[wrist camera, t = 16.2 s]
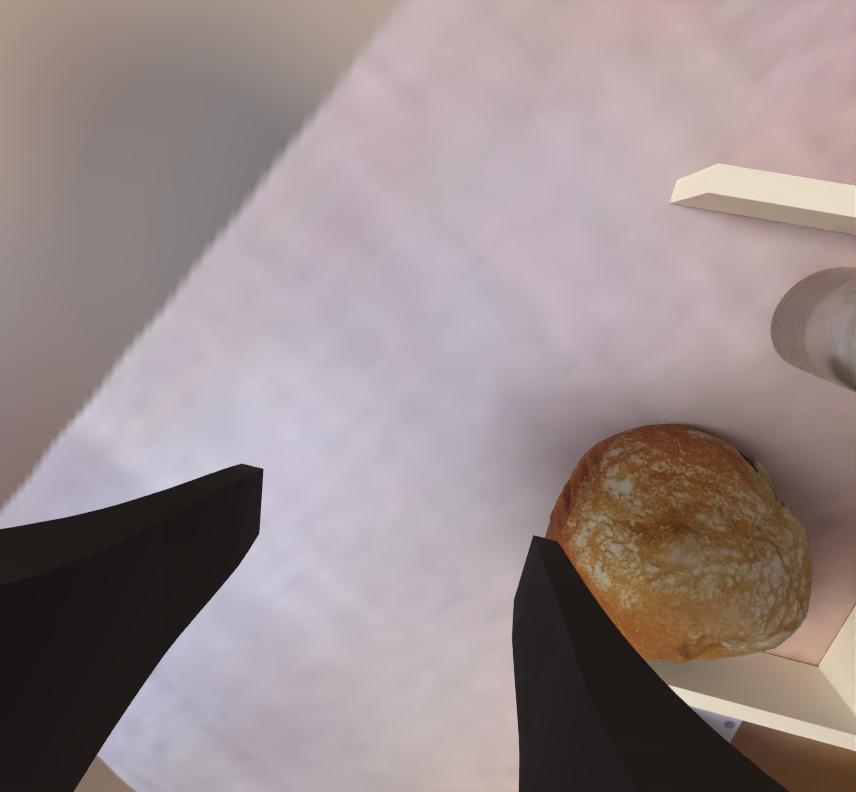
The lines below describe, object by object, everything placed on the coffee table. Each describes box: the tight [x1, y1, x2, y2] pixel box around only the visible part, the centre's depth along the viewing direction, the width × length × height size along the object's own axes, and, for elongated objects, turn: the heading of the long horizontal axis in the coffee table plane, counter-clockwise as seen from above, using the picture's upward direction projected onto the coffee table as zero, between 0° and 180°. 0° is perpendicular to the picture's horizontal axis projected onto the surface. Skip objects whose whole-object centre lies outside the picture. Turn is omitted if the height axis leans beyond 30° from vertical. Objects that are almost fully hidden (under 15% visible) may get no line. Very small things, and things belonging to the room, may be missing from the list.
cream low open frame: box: [647, 164, 856, 751], centre depth 18 cm, size 20×14×4 cm
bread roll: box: [545, 424, 812, 663], centre depth 19 cm, size 10×10×8 cm
